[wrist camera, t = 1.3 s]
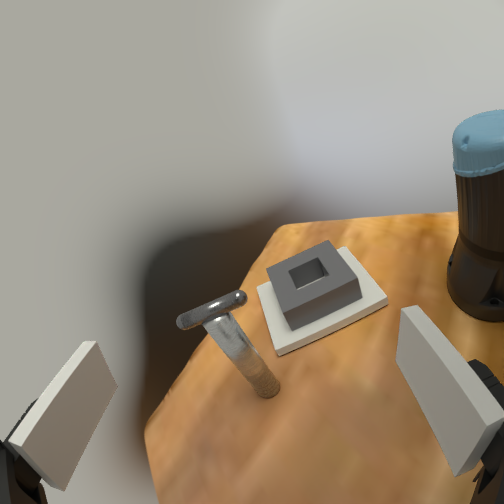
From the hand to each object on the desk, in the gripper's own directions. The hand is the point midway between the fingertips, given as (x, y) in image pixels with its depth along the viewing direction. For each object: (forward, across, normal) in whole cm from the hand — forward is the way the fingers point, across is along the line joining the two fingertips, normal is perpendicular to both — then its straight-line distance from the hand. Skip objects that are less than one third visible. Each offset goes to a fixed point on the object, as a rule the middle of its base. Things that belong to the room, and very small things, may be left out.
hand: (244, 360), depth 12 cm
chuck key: (+20, -1, -20) cm, 28 cm away
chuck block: (+32, +8, -15) cm, 36 cm away
